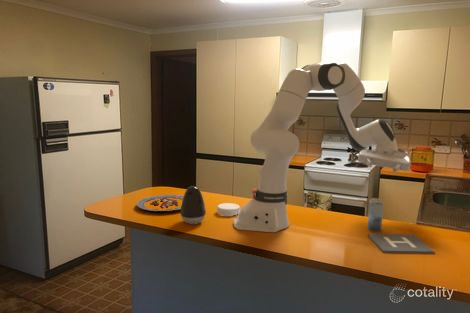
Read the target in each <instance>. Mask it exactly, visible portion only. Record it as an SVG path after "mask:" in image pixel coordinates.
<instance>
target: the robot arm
mask: <svg viewBox="0 0 470 313" xmlns="http://www.w3.org/2000/svg"><path fill="white" fill-rule="evenodd" d="M332 90H333V92H334V93H335V96H336V97H337V99H338V102H337V103H336V112H337V113H338V117H339V119H340V121H341V125H342V126H343V128H344V130H345V133H346V135H347V138H348V142H349V145H350V146H351V148H352V149H353V150H355V151H359V152H358V157H357V161H358V162H359V163H360V164H361V163H363V164H366V165H367V167H370V168H372V167H373V166H376V167H382V168H386V169H387V168H388V169H392V172H394V173H397V172H398V171H403V172H409V171H410V169H411V165H412V161H411V158H410V156H409V152H408V151H405V150H403V149H399V148H398V143H397V140H396V138H395V135H396V134H395V131H394V129H393V127H392V125H391V123H390V122H388V121H387V120H385V119H383V118H378V119H376V120H374V121H373V120H372V122H369V123H367V124H365V125H363V126H361V127H355V125H354V122H353V119H352V118H351V115H352V113H353V111H354V110H355V109H356V108H358V106H359V105H360V104H361V103H362V101H363V100H364V99H365V95H366V94H365V93H366V88H365V87H364V84H363V83H362V80H361V79H360V77H359V76H358V75H357V73H356V72H355V71H354V69H352V68H351V66H349V64H347V63H345V62H341V61H340V62H337V63H336V62H333V61H326V62H314V63H311V64H306V65H305V66H303V67H301V68H293V69H291V70H290V71H289V72H288V74H287V75H286V77H285V79H284V80H283V82H282V83H281V86H280V88H279V91H278V93H277V96H276V98H275V99H274V102H273V104H272V107H271V108H270V111H269V113H268V114H267V115H266V117H265V118H264V120H263V121H262V122H261V124H260V126H258V127H257V128H256V129H254V131H252V133H251V135H250V144H251V146H252V147H253V149H255V151H256V152H257V151H258V153H260V154H262V155H263V154H264V155H265V158H264V162H263V164H262V167H260V169H259V171H258V188H252V190H251V193H252V195H253V196H252V197H253V198H252V199H251V200H250V201H248V202H247V203H245V204H244V205H242V207H240V213H239V214H238V215H237V216H236V217H234V219H233V227H234V228H235V229H237V230H241V231H252V232H253V231H254V232H262V233H264V232H266V233H277V232H279V231H280V230H284V229H287V228H289V227H290V222H289V218H288V210H287V204H288V195H289V193H288V190H287V186H288V185H287V184H288V183H287V182H288V170H289V167H290V164H291V162H292V160H293V157H294V156H296V155H297V153H298V152H299V150H300V140H299V138H298V136H297V135H296V134H295V133H293V132H292V131H290V130H289V129H290V127H291V126H292V125H293V124H294V123H296V122H297V121H298V120H299V118H300V116H301V113H302V110H303V108H304V105H305V103H306V100H307V98H308V95H309V93H310V91H317V92H322V91H332ZM375 145H376V146H375ZM372 146H375V150H371V149H368V148H370V147H372Z"/></svg>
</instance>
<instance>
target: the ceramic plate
mask: <svg viewBox="0 0 470 313" xmlns="http://www.w3.org/2000/svg"><path fill="white" fill-rule="evenodd" d="M183 197H184V195H177V194H161V195H160V194H159V195H153V196H147V197H144V198H142V199H140V200H139V201H137V202H136V205H137V207H138V208H140V209H142V210H146V211H150V212H151V211H153V212H157V211H168V212H173V210H175V211H178V210H181V207H179V208H175V209H166V210H158V209H149V208H146V207H145V206H144V203H146V202H148V201H151V200H155V199H160V200H161V201H160V202H163V203H162V204H161V206H160V207H161V208H162V209H163V208H168V207H169V206H173V205H175V206H177V207H178V205H180V204H178V201H177V200H173V199H180V200H183ZM167 198H173V199H167ZM158 201H159V200H157V201H156V200H155V201H153V202H152V203H150V205H154V206H158V205H159V204H160V203H159V202H158Z"/></svg>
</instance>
